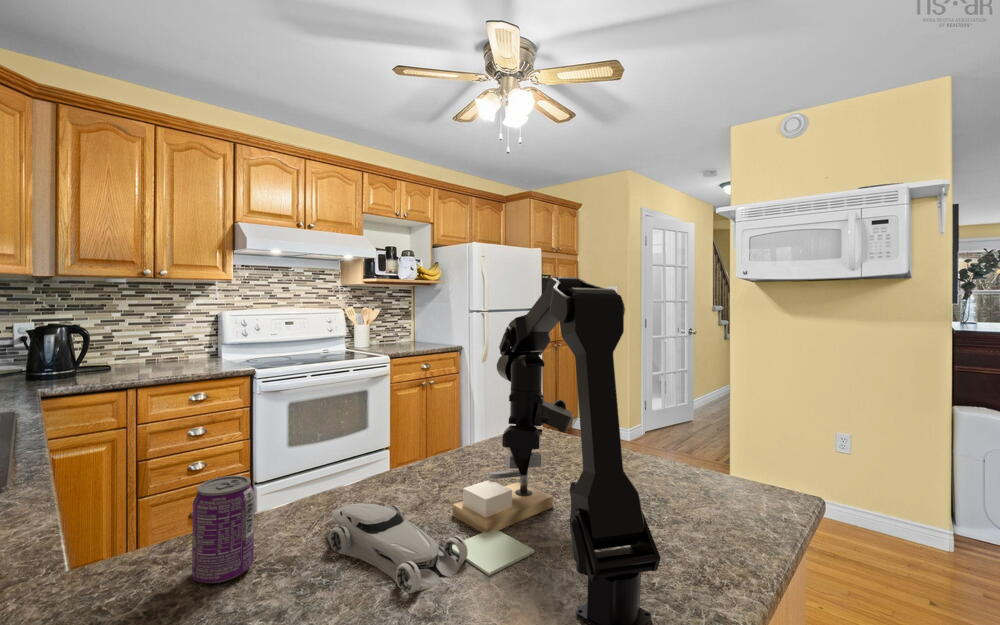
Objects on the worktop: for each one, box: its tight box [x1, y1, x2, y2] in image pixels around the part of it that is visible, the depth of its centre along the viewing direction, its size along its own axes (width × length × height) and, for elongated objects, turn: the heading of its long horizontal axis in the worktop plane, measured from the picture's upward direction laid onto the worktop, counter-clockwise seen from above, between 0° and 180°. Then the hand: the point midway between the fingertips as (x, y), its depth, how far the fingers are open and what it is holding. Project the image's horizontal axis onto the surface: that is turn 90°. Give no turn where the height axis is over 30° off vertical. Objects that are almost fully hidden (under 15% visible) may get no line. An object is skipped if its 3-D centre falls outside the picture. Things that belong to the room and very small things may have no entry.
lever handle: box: [488, 451, 542, 493], centre depth 85 cm, size 10×2×7 cm, turn 103°
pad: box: [452, 529, 535, 577], centre depth 69 cm, size 9×9×1 cm
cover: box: [462, 479, 512, 518], centre depth 79 cm, size 6×6×3 cm
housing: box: [452, 481, 554, 533], centre depth 82 cm, size 16×9×2 cm, turn 133°
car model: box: [326, 502, 468, 594], centre depth 69 cm, size 11×24×5 cm, turn 51°
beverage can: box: [191, 475, 255, 584], centre depth 62 cm, size 7×7×12 cm
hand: (524, 472), depth 85 cm, fingers closed on lever handle, 2 cm apart
